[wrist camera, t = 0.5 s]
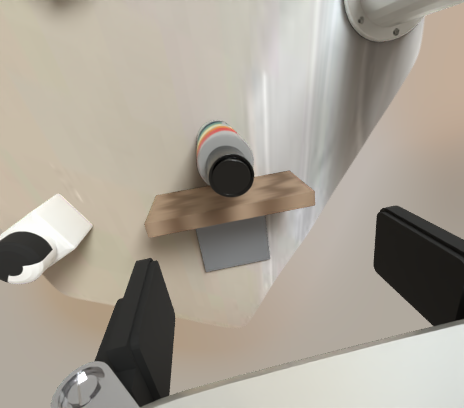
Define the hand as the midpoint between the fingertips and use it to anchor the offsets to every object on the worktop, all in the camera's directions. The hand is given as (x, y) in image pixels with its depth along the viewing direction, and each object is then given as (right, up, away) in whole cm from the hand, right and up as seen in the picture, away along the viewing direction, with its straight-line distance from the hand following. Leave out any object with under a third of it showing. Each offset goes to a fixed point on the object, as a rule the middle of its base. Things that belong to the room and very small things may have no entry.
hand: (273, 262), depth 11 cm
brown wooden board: (-3, +5, +32) cm, 32 cm away
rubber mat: (-2, -3, +35) cm, 35 cm away
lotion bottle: (-4, +12, +29) cm, 31 cm away
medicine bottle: (-29, 0, +31) cm, 42 cm away
